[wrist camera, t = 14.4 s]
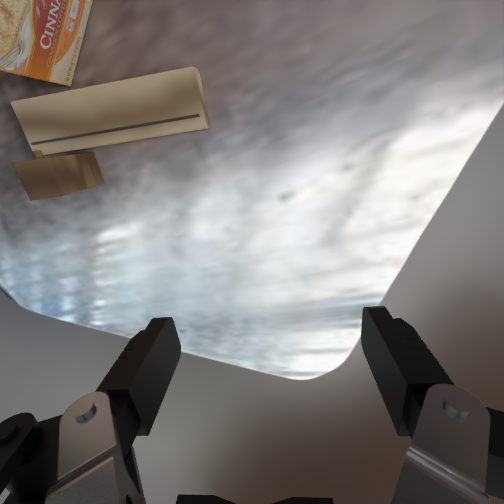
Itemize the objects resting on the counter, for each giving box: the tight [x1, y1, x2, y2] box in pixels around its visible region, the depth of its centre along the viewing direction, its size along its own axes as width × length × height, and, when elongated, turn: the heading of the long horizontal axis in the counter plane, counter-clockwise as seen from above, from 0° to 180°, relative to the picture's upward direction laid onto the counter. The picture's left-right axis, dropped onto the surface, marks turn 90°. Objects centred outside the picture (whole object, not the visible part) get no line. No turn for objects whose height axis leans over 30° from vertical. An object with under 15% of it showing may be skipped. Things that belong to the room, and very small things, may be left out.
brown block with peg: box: [12, 150, 104, 200], centre depth 32 cm, size 5×4×8 cm
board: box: [10, 66, 210, 156], centre depth 32 cm, size 6×22×3 cm, turn 98°
